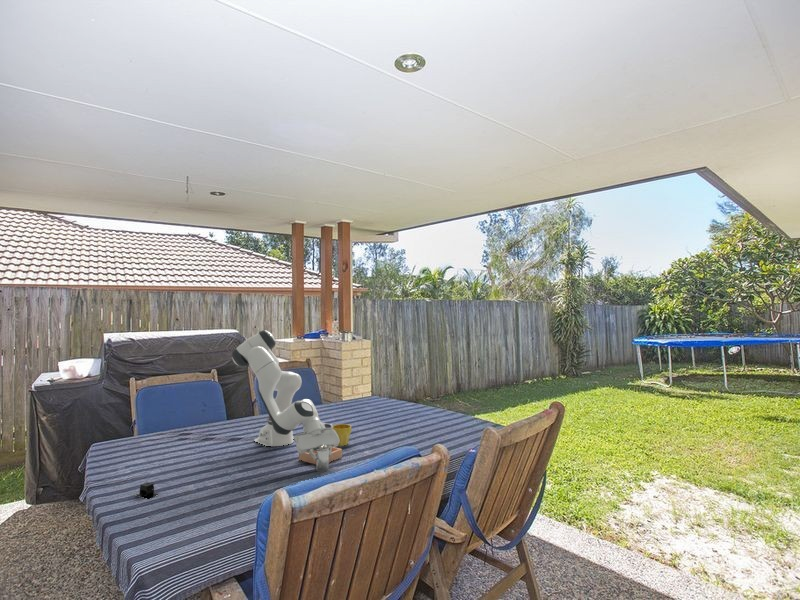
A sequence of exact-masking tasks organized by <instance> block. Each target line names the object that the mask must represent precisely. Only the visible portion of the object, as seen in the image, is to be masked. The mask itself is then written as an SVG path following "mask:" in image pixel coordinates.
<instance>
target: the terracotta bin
mask: <svg viewBox="0 0 800 600" xmlns="http://www.w3.org/2000/svg"><path fill="white" fill-rule="evenodd" d="M313 452H314V453H315V454H316V451H313ZM331 453H332V456H330V457H329V463H331V461H332V462H334V461H336V459H337V460H338V458H339V459H341V458H343V449H342V448H338V447H332V450H331ZM298 460H299V461H301V460H302V461H301V462H305V463H309V464H313V465H316V460H314V459H313V457H312V456H311V455H310V454H309V452H306V453H301V454H300V453H298ZM333 460H334V461H333Z"/></svg>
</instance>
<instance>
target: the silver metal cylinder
mask: <svg viewBox="0 0 800 600" xmlns="http://www.w3.org/2000/svg"><path fill="white" fill-rule="evenodd" d="M316 454H317V456H318V458H317V459H316V464H315V465H316V466H315V470H316V472H326V471H329V469H330V462H329V447H328V446H326V445H325V446H324V445H323V444H322V445H320V447H318V448H316Z"/></svg>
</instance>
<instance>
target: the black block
mask: <svg viewBox="0 0 800 600" xmlns="http://www.w3.org/2000/svg"><path fill="white" fill-rule="evenodd" d="M139 485H140V487H139V492H138V493H139V494H137V493H135V494H136V495H137V496H140V497H139V498H141V497H144V498H143V499H145V498H147V499H146V500H151V499H154V498H155V496H156V495H158V494H160V493H159V492H155V486H154V485H155V484H154V483H152V482H145V483H142V484H139ZM154 492H155V493H154ZM137 496H136V497H137ZM158 496H159V495H158ZM156 497H157V496H156ZM150 498H151V499H150Z"/></svg>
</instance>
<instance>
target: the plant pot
mask: <svg viewBox="0 0 800 600" xmlns="http://www.w3.org/2000/svg"><path fill="white" fill-rule="evenodd" d="M333 430H335V431H336V433H337V435H338V437H339V440H340V442H339V444H338V446H337V447H345V446H344V445H346V446H348V445H349V441H350V435H351V433H352V425H351V424H347V423H340V424H339V423H338V424H334V425H333ZM347 444H348V445H347Z"/></svg>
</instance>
